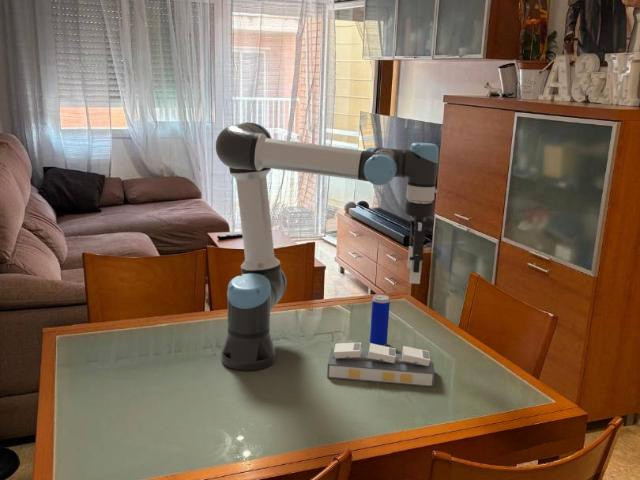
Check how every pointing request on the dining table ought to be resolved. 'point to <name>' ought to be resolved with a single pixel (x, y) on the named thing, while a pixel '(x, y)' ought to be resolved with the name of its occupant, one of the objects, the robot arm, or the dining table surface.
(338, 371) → the switch console
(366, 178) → the robot arm
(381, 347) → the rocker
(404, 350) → the rocker
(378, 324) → the beverage can
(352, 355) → the plate
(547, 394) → the dining table surface
